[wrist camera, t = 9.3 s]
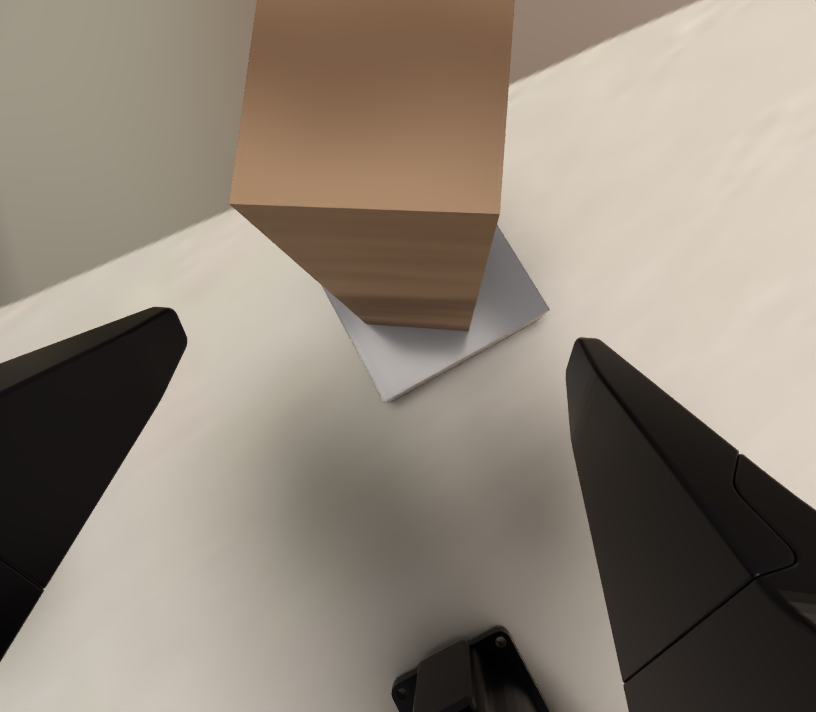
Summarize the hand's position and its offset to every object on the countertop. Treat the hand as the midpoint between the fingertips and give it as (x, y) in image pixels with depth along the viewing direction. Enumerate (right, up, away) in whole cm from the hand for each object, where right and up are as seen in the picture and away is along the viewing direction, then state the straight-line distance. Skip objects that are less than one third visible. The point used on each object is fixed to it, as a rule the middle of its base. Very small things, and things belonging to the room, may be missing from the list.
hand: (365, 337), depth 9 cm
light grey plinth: (+2, +3, +13) cm, 14 cm away
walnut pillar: (+2, +3, +11) cm, 11 cm away
